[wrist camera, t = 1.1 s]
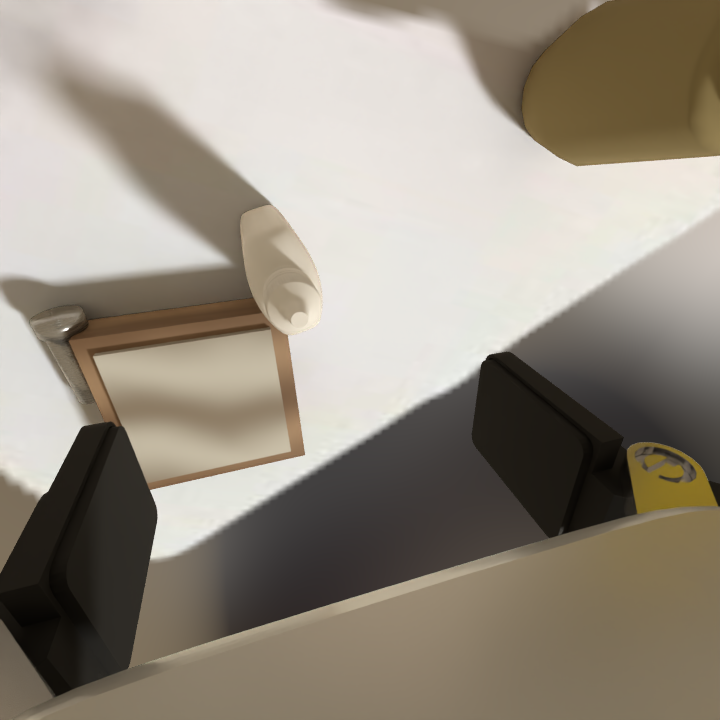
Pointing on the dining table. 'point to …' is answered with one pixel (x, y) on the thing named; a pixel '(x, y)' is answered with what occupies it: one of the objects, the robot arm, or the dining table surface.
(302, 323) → the eye dropper bottle
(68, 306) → the loose bolt
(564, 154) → the squeeze bottle
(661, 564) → the robot arm
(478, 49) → the dining table surface
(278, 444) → the picture frame
